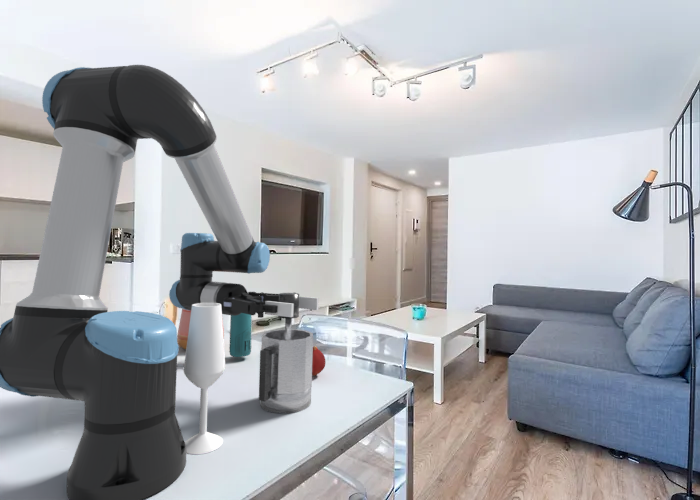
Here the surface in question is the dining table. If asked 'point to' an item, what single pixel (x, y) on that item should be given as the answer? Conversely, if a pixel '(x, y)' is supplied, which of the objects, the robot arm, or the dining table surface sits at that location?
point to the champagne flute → (204, 367)
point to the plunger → (288, 320)
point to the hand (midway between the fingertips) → (305, 307)
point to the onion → (317, 361)
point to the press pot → (286, 371)
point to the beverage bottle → (240, 335)
